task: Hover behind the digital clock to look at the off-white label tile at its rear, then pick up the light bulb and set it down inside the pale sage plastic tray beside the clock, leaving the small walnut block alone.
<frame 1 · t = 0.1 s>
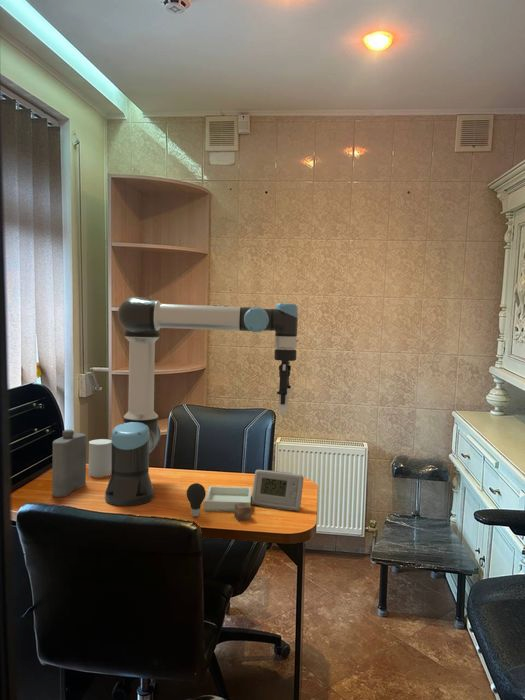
hand: (283, 410, 179), 28 cm above the table, fingers open, 13 cm apart
digital clock: (276, 507, 164), on the table
label tile: (274, 494, 175), on the table
flask: (68, 490, 173), on the table
tray: (228, 503, 165), on the table
light bulb: (195, 517, 153), on the table
cup: (100, 474, 191), on the table
walnut block: (242, 518, 153), on the table
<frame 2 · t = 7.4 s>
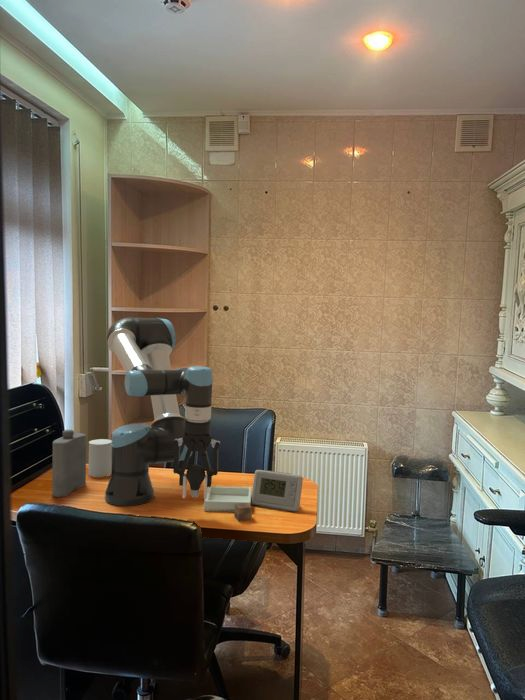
hand: (194, 496, 154), 6 cm above the table, fingers closed on light bulb, 5 cm apart
light bulb: (194, 498, 154), point 5 cm above the table, touching gripper
everything else where it was.
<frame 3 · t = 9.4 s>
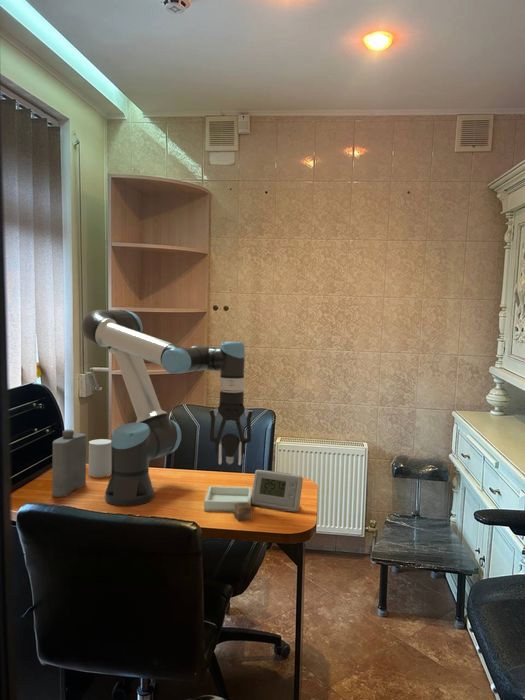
hand: (229, 463, 165), 13 cm above the table, fingers closed on light bulb, 5 cm apart
light bulb: (229, 464, 165), point 12 cm above the table, touching gripper
everything else where it was.
when the fingers open (2 cm above the table, at t = 11.4 s): light bulb drops 1 cm, resting on tray.
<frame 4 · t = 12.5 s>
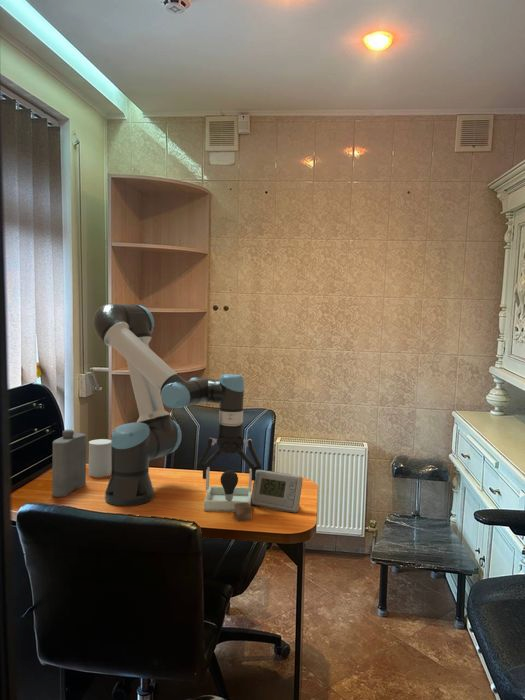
hand: (228, 489, 165), 4 cm above the table, fingers open, 13 cm apart
digital clock: (275, 507, 164), on the table, touching gripper
light bulb: (228, 501, 166), resting on tray
everything else where it was.
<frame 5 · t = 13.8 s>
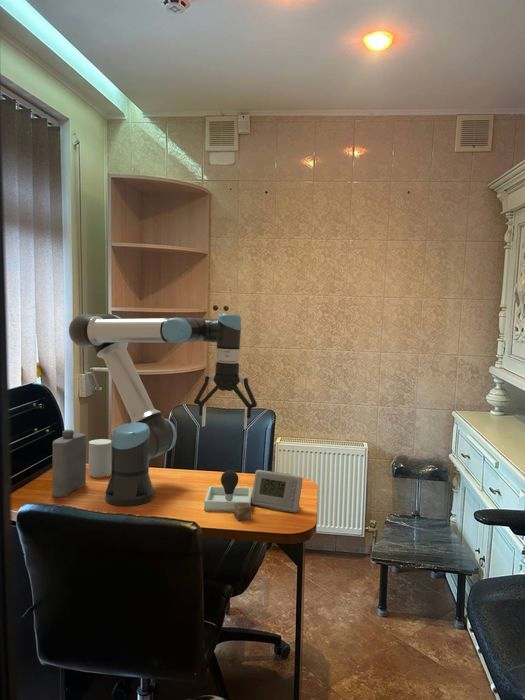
hand: (224, 427, 169), 23 cm above the table, fingers open, 13 cm apart
digital clock: (275, 508, 164), on the table
everything else where it was.
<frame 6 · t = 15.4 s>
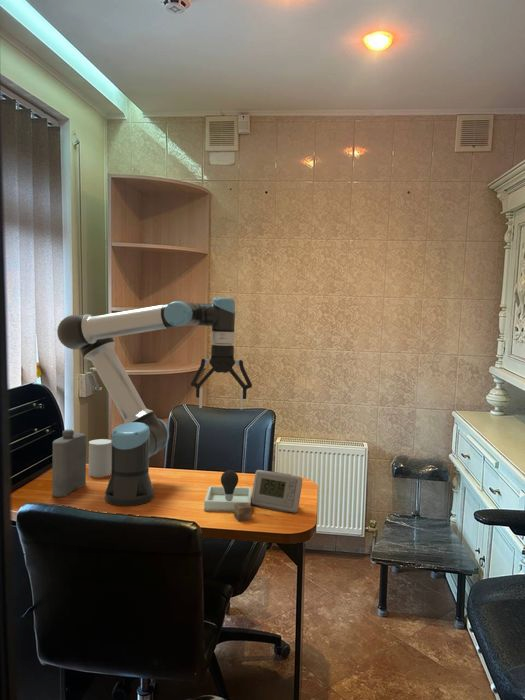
hand: (221, 408, 174), 29 cm above the table, fingers open, 13 cm apart
nothing on the table moved.
at the end: light bulb inside the target area on the tray (0.1 cm from its centre), point 0.4 cm above the tray's base; the gripper is holding nothing; walnut block moved 0.1 cm from its start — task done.
